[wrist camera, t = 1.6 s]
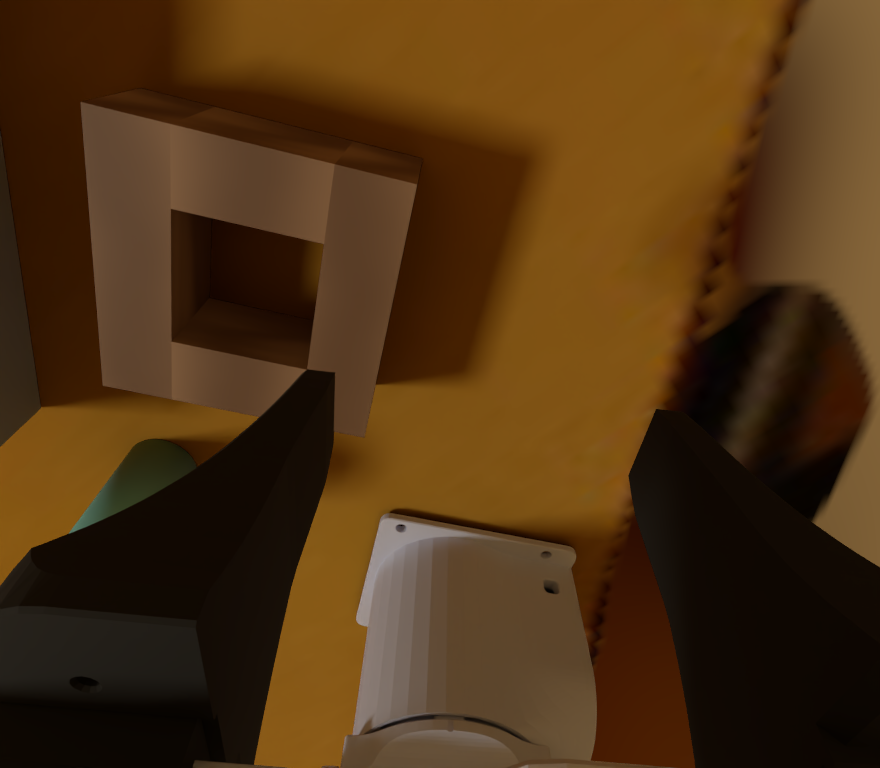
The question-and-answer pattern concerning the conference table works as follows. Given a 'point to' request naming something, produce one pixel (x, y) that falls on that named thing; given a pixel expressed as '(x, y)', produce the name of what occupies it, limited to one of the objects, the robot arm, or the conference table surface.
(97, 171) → the hole block
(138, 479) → the dowel
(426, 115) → the conference table surface
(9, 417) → the backstop wall
